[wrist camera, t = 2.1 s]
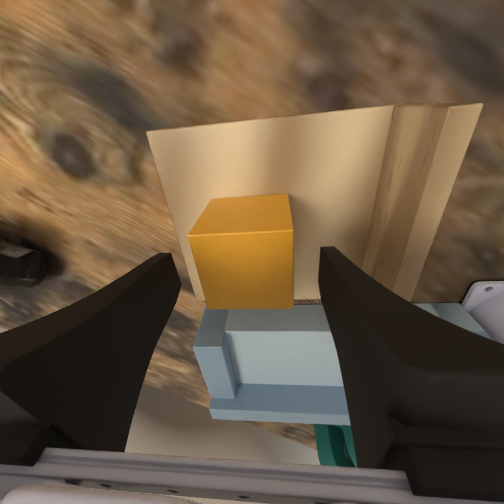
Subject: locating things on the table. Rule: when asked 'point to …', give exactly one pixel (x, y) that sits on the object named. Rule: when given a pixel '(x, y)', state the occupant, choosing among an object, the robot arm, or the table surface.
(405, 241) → the low wooden bench
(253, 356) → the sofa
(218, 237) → the block
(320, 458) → the bracket
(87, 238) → the table surface
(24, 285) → the battery
